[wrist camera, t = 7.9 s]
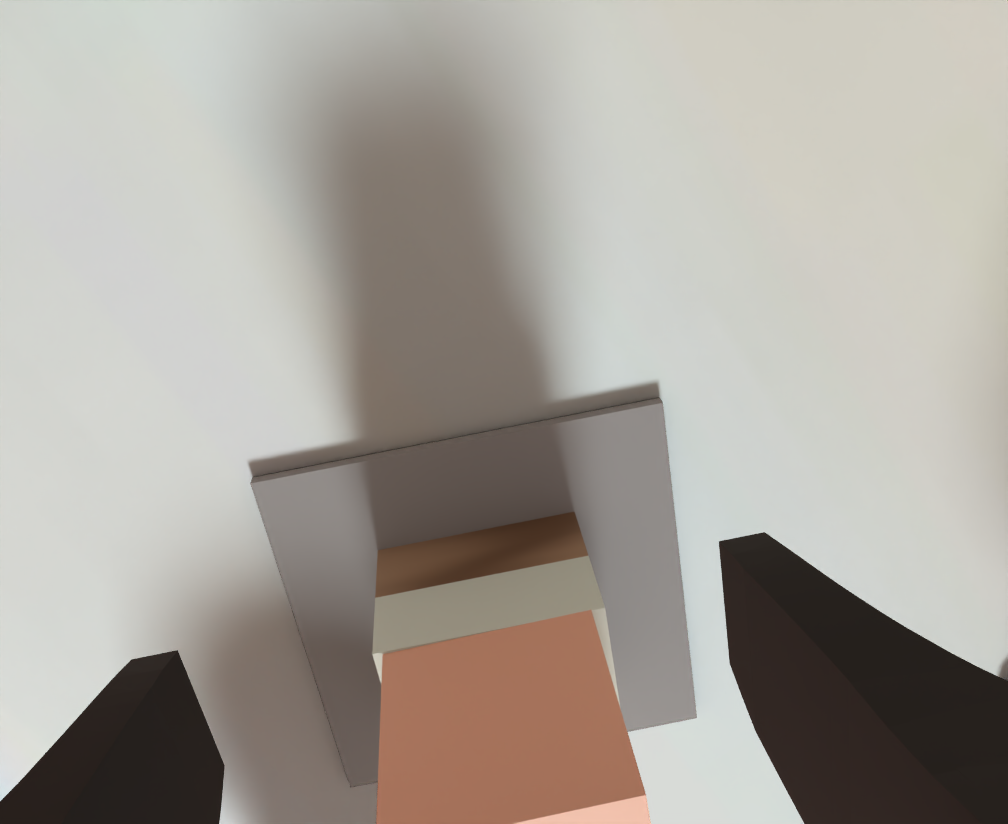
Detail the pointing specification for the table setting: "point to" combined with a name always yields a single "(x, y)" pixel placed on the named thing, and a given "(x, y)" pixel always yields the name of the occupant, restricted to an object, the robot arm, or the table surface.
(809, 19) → the table surface
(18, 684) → the table surface
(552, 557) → the tower base
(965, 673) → the robot arm
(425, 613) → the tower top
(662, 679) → the coaster
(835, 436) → the table surface
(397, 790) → the block
